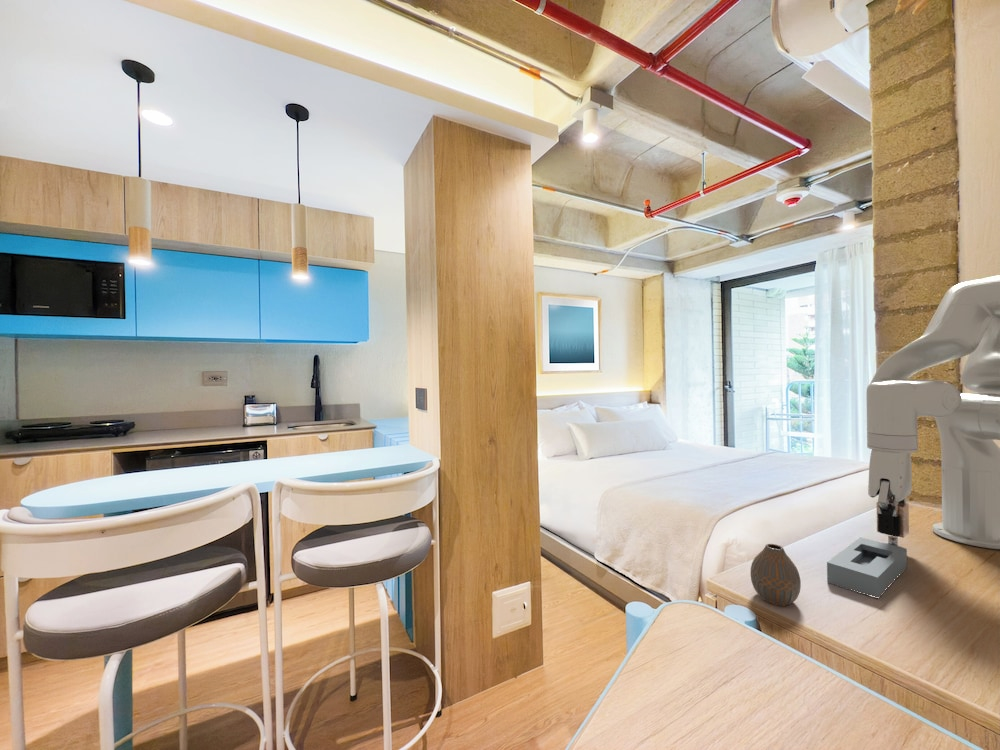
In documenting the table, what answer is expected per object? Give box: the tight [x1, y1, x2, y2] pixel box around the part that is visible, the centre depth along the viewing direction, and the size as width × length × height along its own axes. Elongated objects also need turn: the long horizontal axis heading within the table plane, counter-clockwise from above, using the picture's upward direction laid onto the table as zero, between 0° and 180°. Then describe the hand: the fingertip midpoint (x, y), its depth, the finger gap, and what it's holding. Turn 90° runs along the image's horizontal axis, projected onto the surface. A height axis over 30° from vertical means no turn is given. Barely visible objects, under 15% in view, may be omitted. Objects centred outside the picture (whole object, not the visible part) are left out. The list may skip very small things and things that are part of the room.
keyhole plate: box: [826, 537, 908, 597], centre depth 76 cm, size 18×7×4 cm, turn 125°
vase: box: [750, 543, 802, 607], centre depth 69 cm, size 7×7×9 cm
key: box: [876, 501, 910, 548], centre depth 85 cm, size 4×4×10 cm
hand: (892, 530), depth 85 cm, fingers open, 4 cm apart
